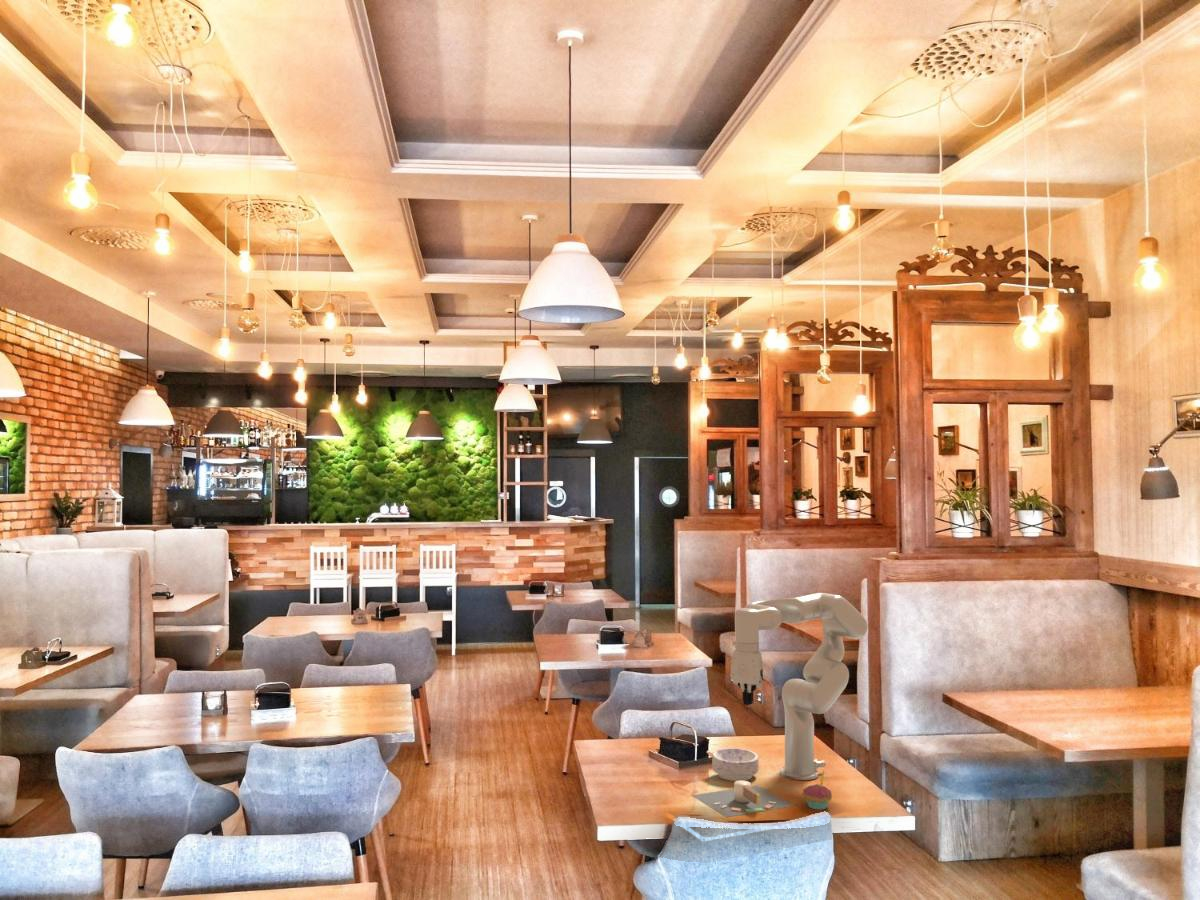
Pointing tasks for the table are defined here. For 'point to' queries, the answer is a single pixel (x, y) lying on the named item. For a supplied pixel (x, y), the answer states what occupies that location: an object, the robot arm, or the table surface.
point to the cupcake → (817, 795)
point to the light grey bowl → (735, 764)
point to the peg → (745, 793)
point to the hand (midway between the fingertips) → (748, 703)
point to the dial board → (730, 807)
